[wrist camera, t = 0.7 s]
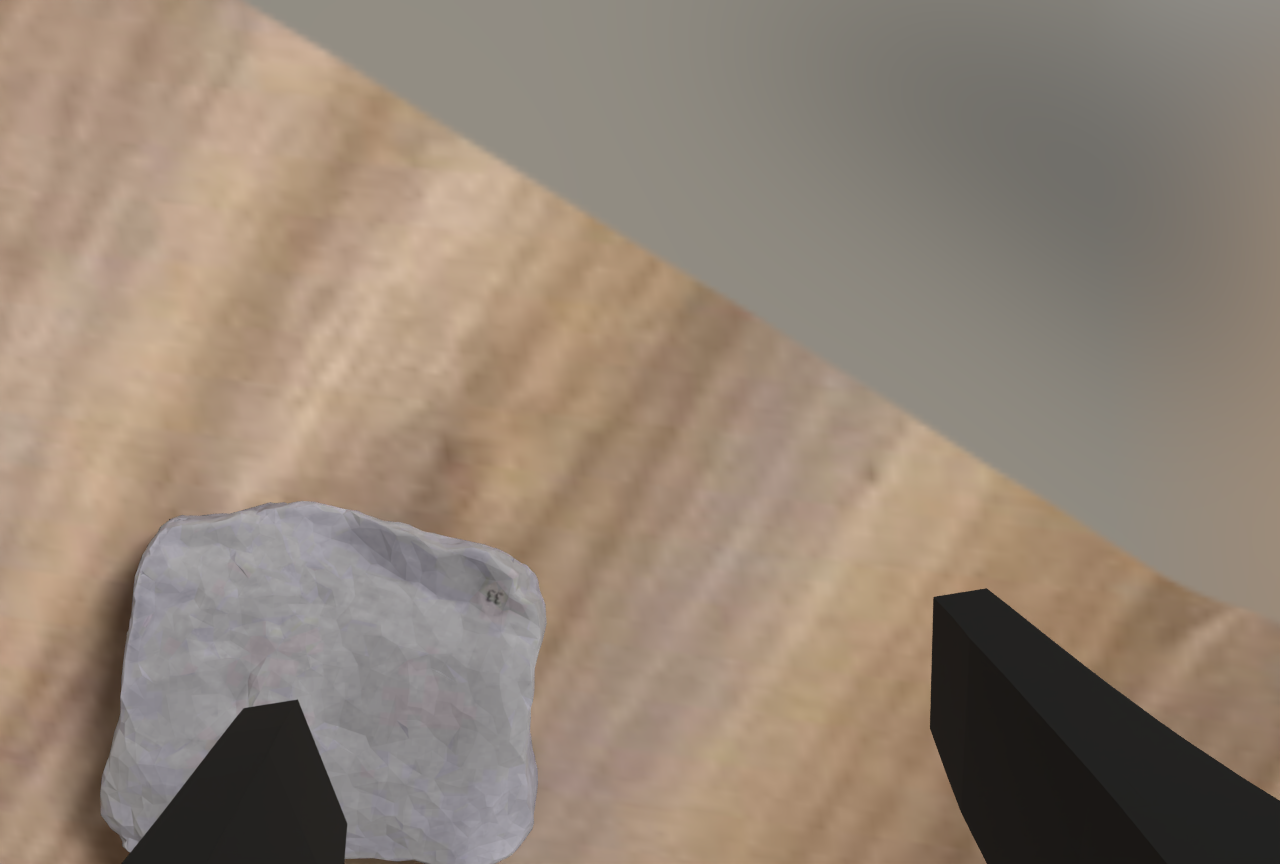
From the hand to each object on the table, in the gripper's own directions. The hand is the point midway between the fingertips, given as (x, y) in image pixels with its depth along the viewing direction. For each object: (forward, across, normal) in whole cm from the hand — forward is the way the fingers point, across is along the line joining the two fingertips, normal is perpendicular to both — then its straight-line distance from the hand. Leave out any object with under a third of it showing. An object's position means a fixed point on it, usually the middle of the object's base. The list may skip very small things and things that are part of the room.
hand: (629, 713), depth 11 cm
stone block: (+16, +9, +11) cm, 21 cm away
